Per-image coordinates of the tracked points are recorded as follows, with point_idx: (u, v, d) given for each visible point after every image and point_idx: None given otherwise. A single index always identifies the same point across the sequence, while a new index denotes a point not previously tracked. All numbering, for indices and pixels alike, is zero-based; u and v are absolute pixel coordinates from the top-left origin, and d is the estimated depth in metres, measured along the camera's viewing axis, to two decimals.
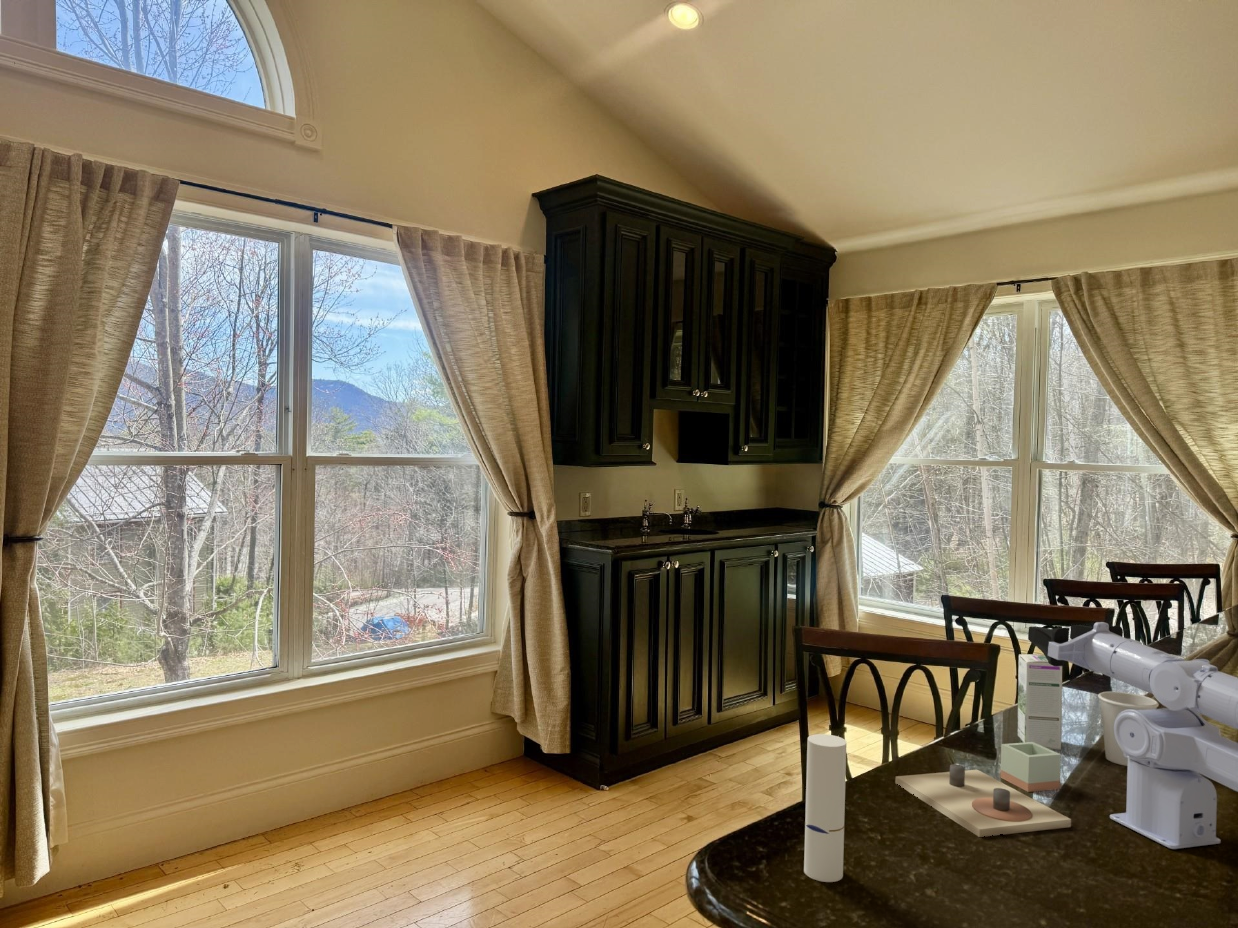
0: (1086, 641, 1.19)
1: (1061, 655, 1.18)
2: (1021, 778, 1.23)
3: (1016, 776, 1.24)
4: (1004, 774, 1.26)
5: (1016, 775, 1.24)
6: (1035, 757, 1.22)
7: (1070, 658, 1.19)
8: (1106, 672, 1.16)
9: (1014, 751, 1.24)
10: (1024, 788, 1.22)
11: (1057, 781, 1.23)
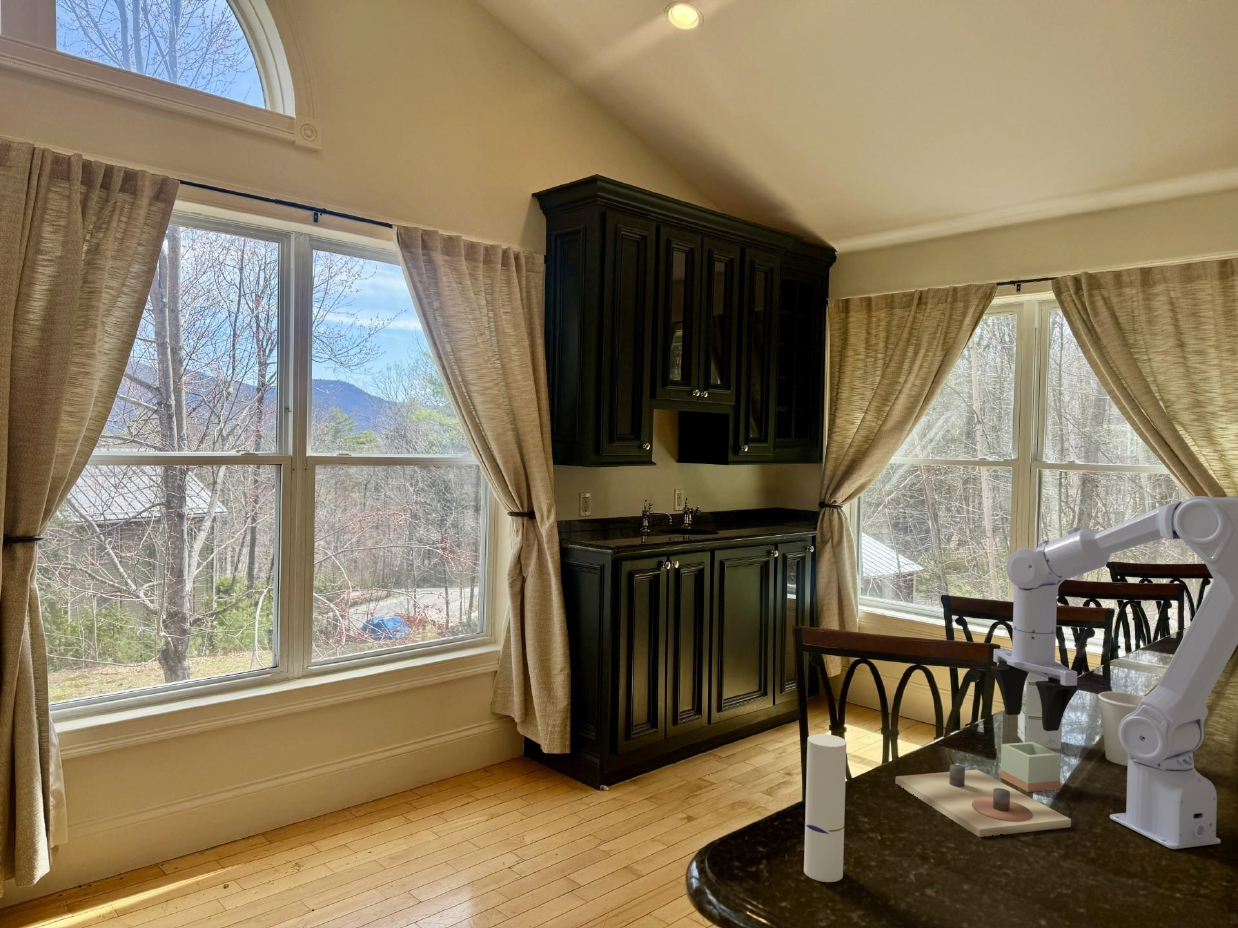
0: (1038, 664, 1.22)
1: None
2: (1021, 778, 1.23)
3: (1016, 776, 1.24)
4: (1004, 774, 1.26)
5: (1016, 775, 1.24)
6: (1035, 757, 1.22)
7: (1063, 669, 1.21)
8: (1055, 639, 1.23)
9: (1014, 751, 1.24)
10: (1024, 788, 1.22)
11: (1057, 781, 1.23)
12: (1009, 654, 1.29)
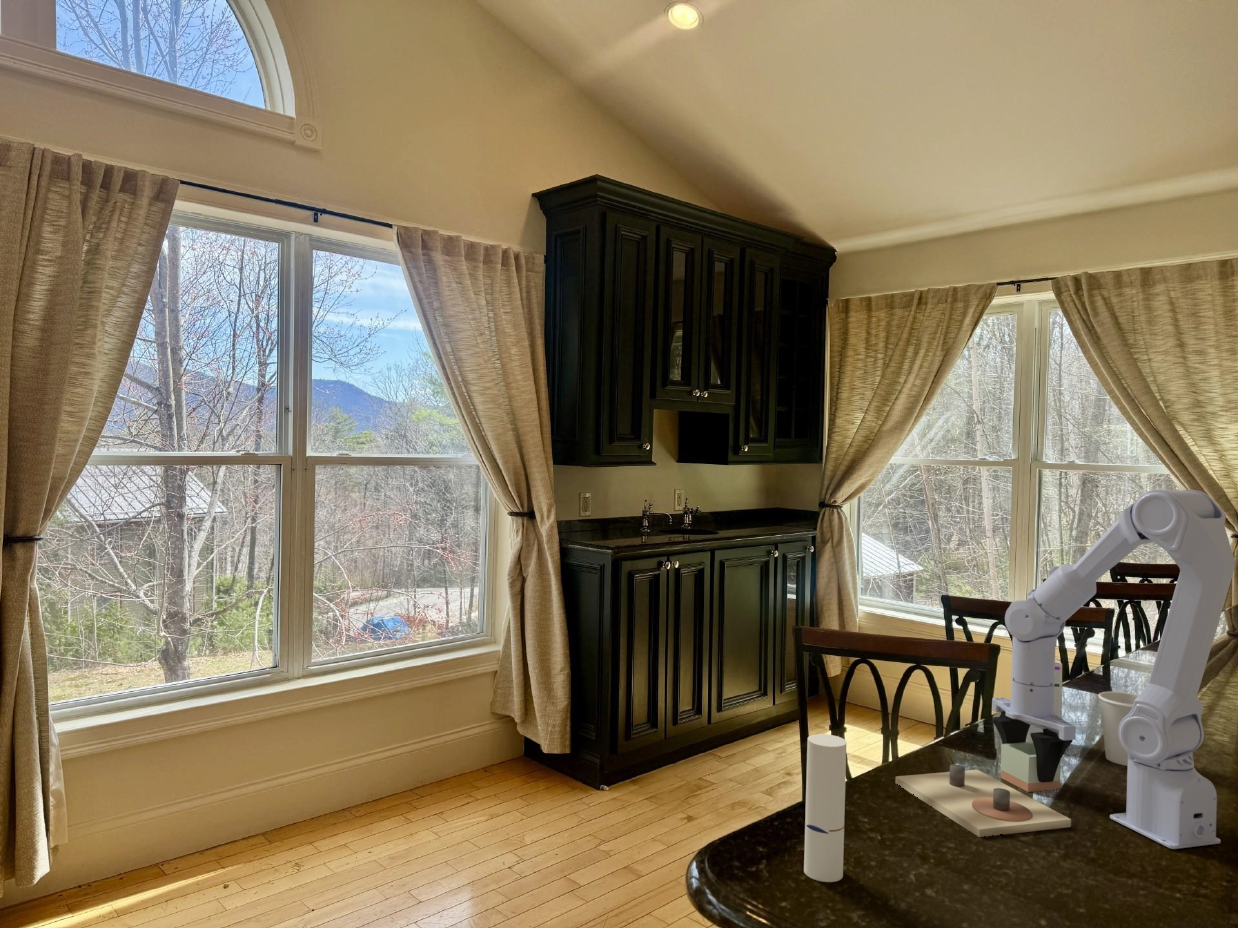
0: (1036, 717, 1.22)
1: None
2: (1021, 778, 1.23)
3: (1016, 776, 1.24)
4: (1004, 774, 1.26)
5: (1016, 775, 1.24)
6: (1035, 757, 1.22)
7: (1062, 722, 1.21)
8: None
9: (1014, 751, 1.24)
10: (1024, 788, 1.22)
11: (1057, 781, 1.23)
12: (1008, 704, 1.29)
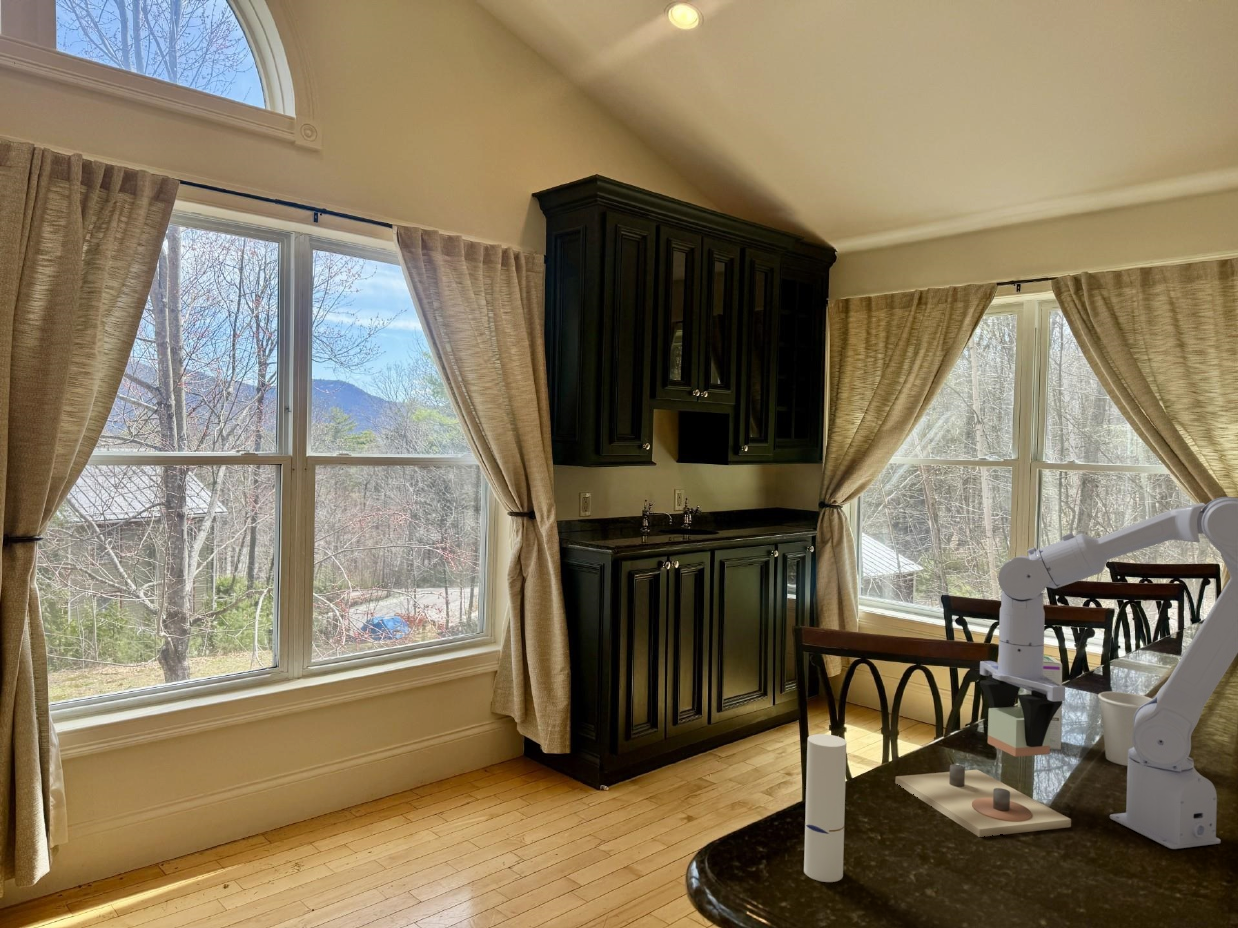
0: (1024, 678, 1.16)
1: None
2: (1008, 743, 1.17)
3: (1003, 741, 1.18)
4: (991, 739, 1.20)
5: (1003, 740, 1.18)
6: (1023, 720, 1.16)
7: (1051, 683, 1.15)
8: (1043, 652, 1.17)
9: (1001, 715, 1.18)
10: (1012, 753, 1.16)
11: (1046, 746, 1.17)
12: (996, 667, 1.23)
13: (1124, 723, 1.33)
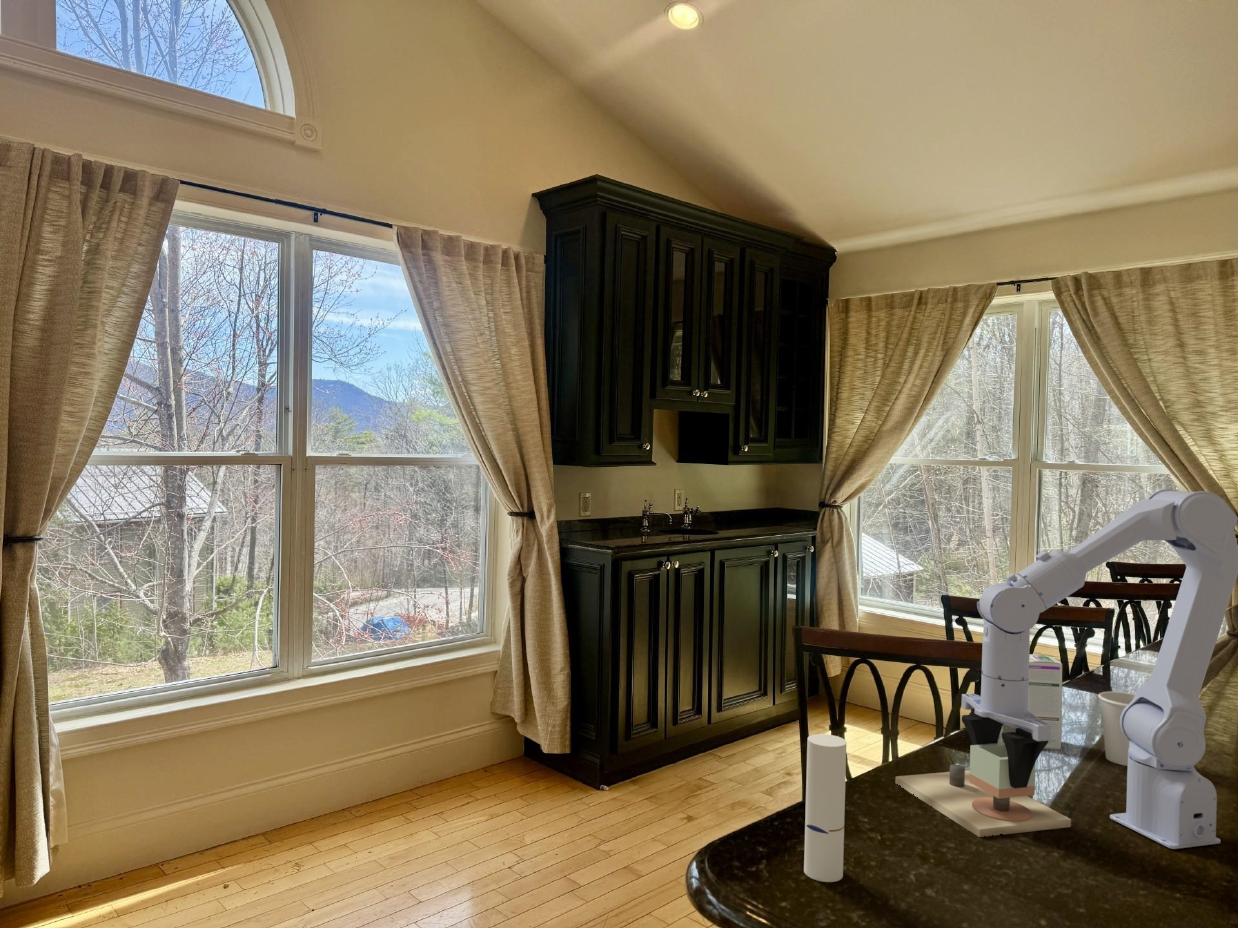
0: (1008, 715, 1.09)
1: None
2: (991, 783, 1.10)
3: (986, 781, 1.11)
4: (973, 778, 1.14)
5: (986, 780, 1.11)
6: (1007, 760, 1.09)
7: (1037, 721, 1.08)
8: (1028, 687, 1.11)
9: (984, 753, 1.12)
10: (995, 795, 1.09)
11: (1031, 786, 1.10)
12: (978, 701, 1.17)
13: None
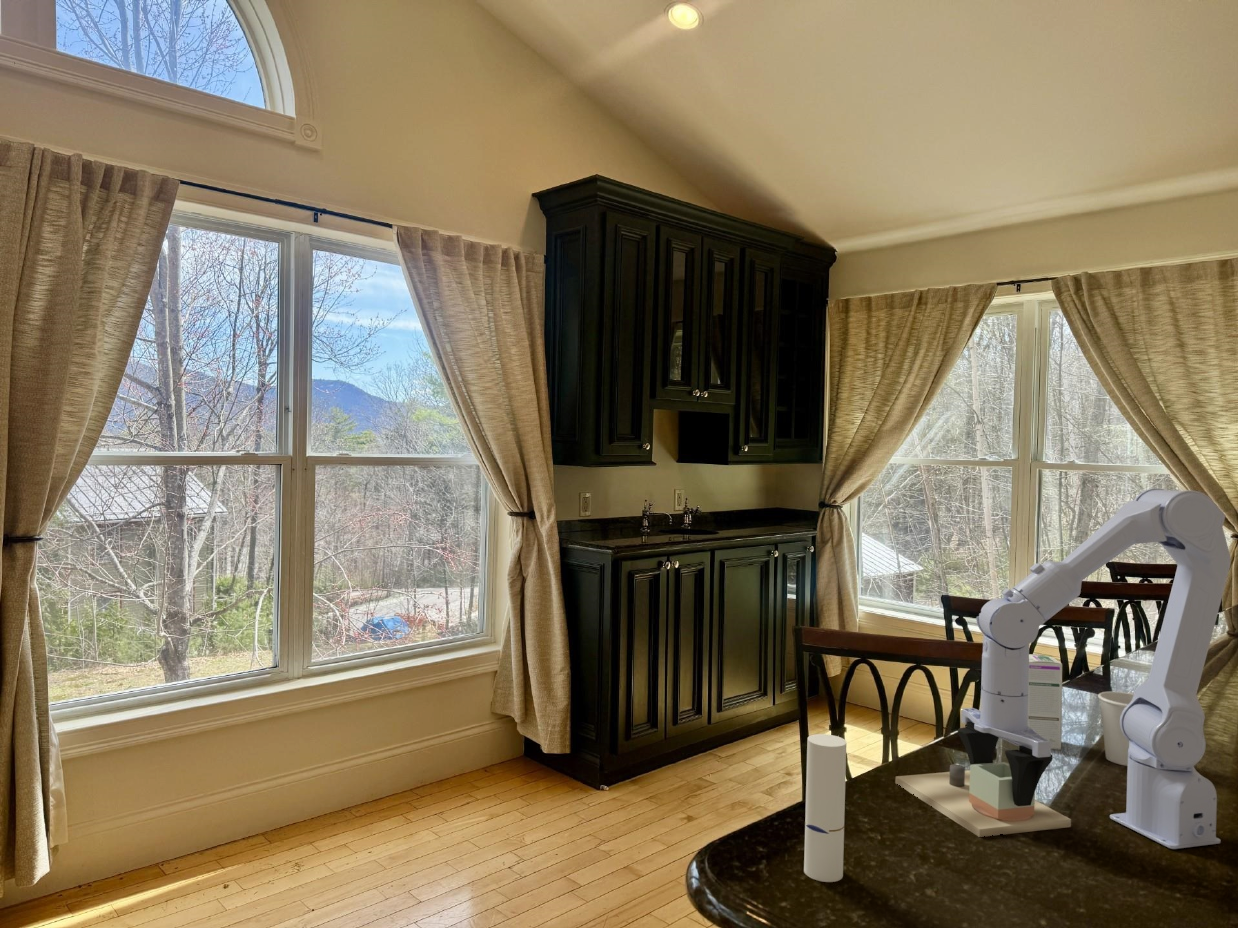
0: (1008, 731, 1.09)
1: None
2: (991, 804, 1.10)
3: (985, 801, 1.11)
4: (973, 798, 1.14)
5: (985, 800, 1.11)
6: (1006, 780, 1.09)
7: (1036, 737, 1.08)
8: None
9: (983, 773, 1.12)
10: (994, 815, 1.10)
11: (1031, 807, 1.10)
12: (978, 715, 1.17)
13: None
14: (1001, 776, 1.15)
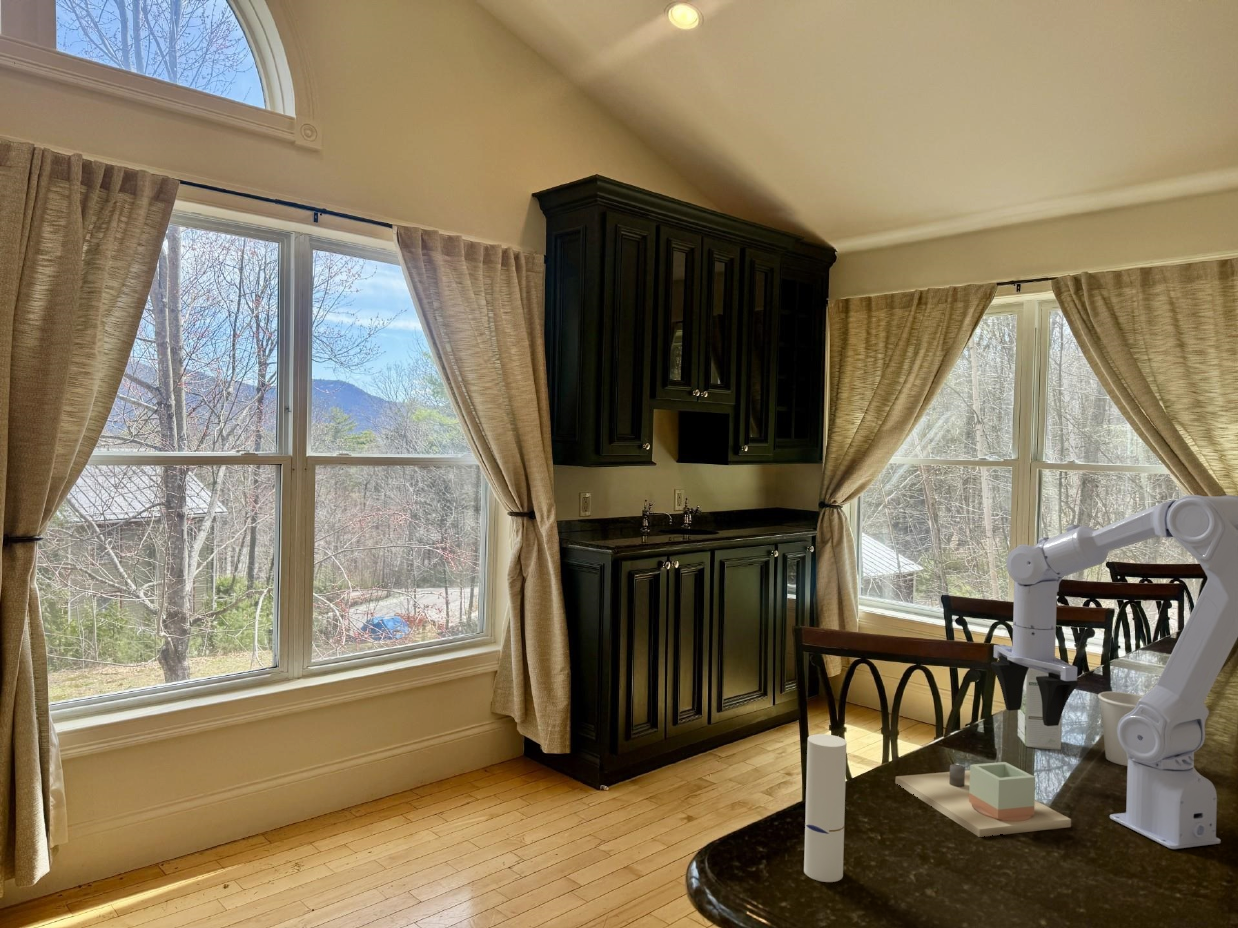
0: (1038, 660, 1.23)
1: None
2: (991, 804, 1.10)
3: (985, 801, 1.11)
4: (973, 798, 1.14)
5: (985, 800, 1.11)
6: (1006, 780, 1.09)
7: (1063, 664, 1.22)
8: (1055, 635, 1.24)
9: (983, 773, 1.12)
10: (994, 815, 1.10)
11: (1031, 807, 1.10)
12: (1009, 650, 1.30)
13: None
14: (1001, 776, 1.15)
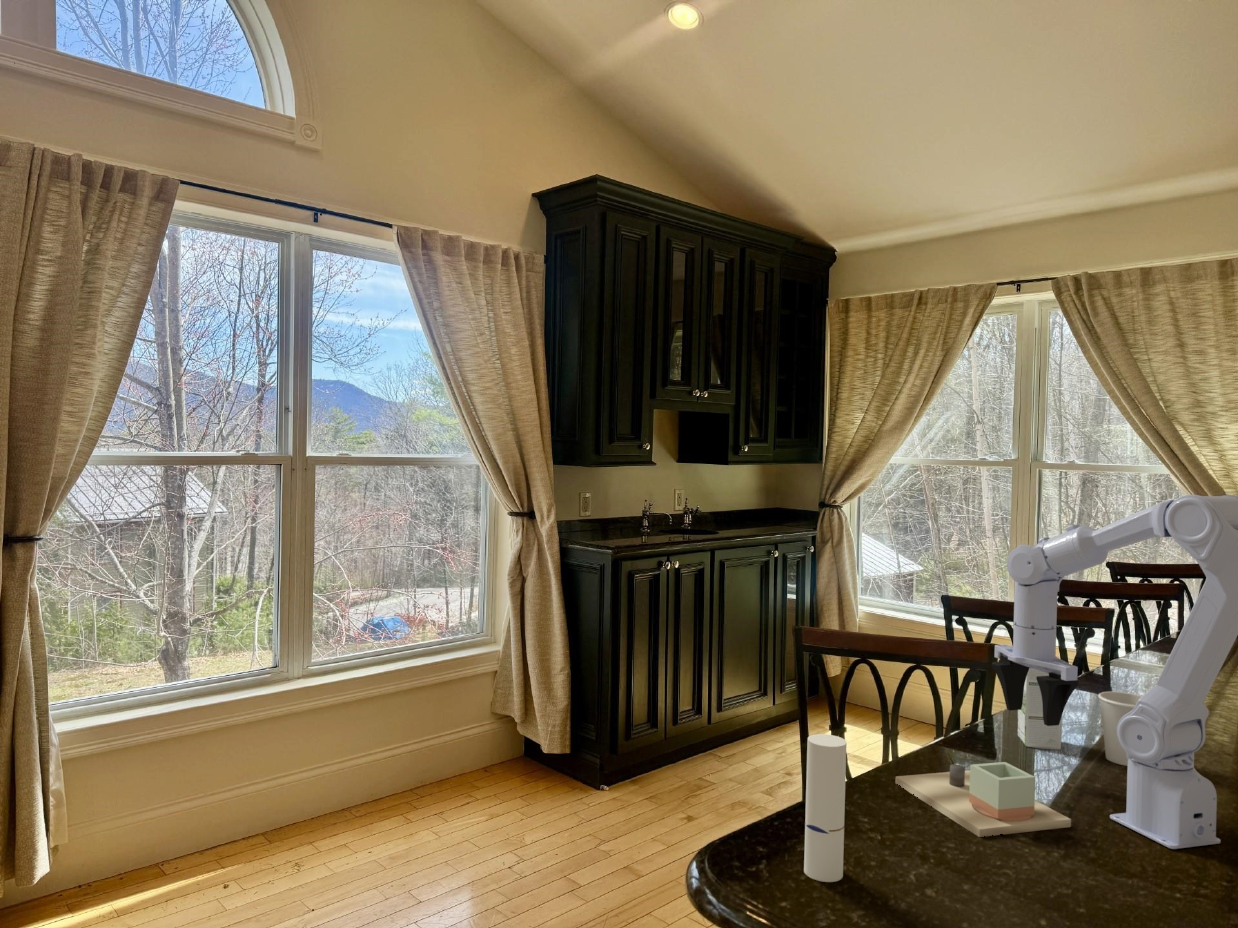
0: (1038, 659, 1.23)
1: None
2: (991, 804, 1.10)
3: (985, 801, 1.11)
4: (973, 798, 1.14)
5: (985, 800, 1.11)
6: (1006, 780, 1.09)
7: None
8: None
9: (983, 773, 1.12)
10: (994, 815, 1.10)
11: (1031, 807, 1.10)
12: (1010, 650, 1.30)
13: None
14: (1001, 776, 1.15)
